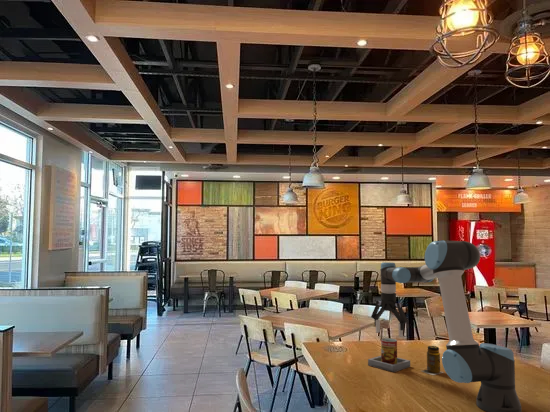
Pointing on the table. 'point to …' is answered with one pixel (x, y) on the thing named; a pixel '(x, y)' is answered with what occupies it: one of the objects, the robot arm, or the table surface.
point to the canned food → (389, 350)
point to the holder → (389, 367)
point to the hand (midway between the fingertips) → (389, 334)
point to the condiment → (433, 361)
